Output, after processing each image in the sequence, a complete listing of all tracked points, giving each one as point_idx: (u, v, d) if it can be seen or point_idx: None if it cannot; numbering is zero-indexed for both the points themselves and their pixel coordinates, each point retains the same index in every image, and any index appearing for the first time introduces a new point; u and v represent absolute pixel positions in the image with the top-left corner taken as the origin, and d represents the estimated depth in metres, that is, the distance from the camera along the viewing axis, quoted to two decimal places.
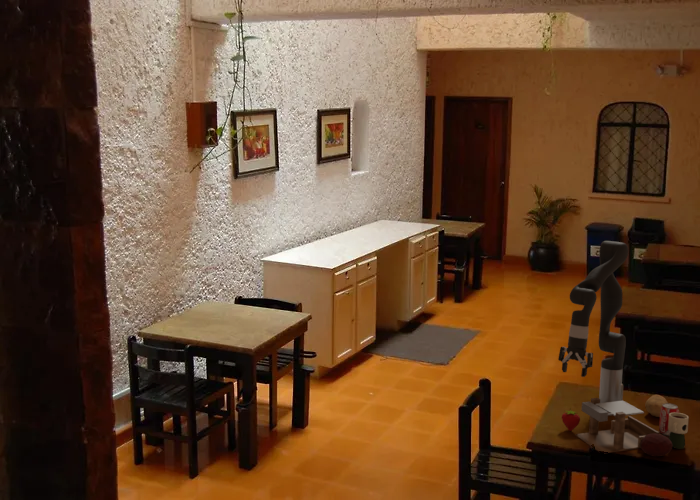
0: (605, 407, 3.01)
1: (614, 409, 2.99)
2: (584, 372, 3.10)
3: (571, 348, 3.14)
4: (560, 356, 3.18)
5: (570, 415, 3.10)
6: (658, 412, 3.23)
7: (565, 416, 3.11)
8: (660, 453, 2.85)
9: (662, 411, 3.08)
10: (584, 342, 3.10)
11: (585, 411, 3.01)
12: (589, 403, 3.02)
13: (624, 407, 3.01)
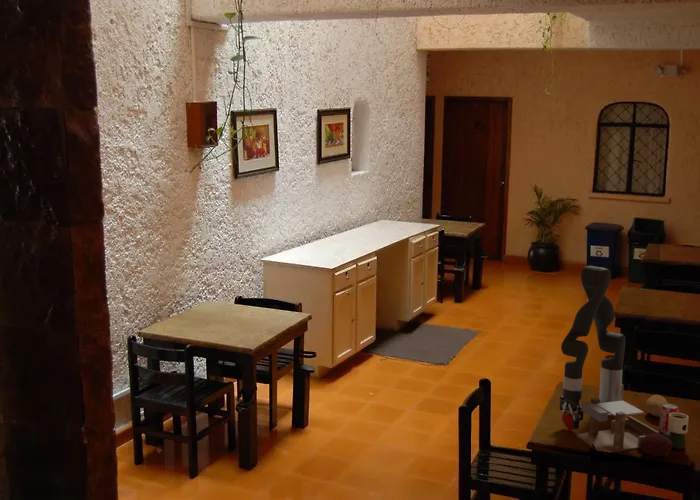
0: (605, 407, 3.01)
1: (614, 409, 2.99)
2: (575, 424, 3.08)
3: None
4: (560, 406, 3.17)
5: (570, 415, 3.10)
6: (658, 412, 3.23)
7: (565, 416, 3.11)
8: (660, 453, 2.85)
9: (662, 411, 3.08)
10: (575, 394, 3.06)
11: (585, 411, 3.01)
12: (589, 403, 3.02)
13: (624, 407, 3.01)
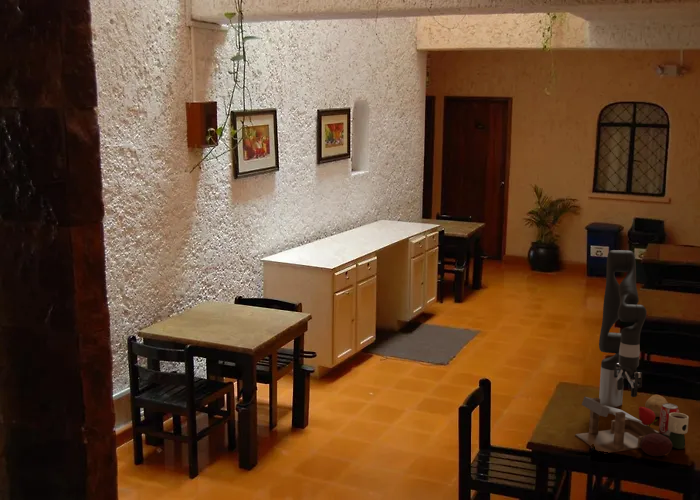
0: None
1: (614, 411, 2.99)
2: (633, 392, 2.96)
3: (623, 366, 3.01)
4: (615, 373, 3.06)
5: (653, 420, 3.02)
6: (658, 412, 3.23)
7: None
8: (660, 453, 2.85)
9: (662, 411, 3.08)
10: (632, 361, 2.95)
11: (586, 405, 3.00)
12: (591, 399, 3.01)
13: None
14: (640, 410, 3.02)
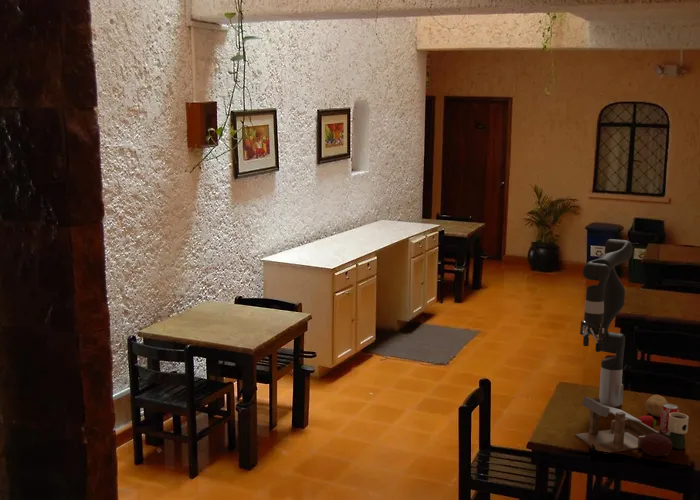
0: None
1: (614, 411, 2.99)
2: (597, 347, 3.09)
3: (588, 323, 3.14)
4: (581, 330, 3.19)
5: (652, 427, 3.13)
6: (658, 412, 3.23)
7: None
8: (660, 453, 2.85)
9: (663, 411, 3.08)
10: (596, 317, 3.09)
11: (586, 405, 3.00)
12: (591, 399, 3.01)
13: None
14: None
